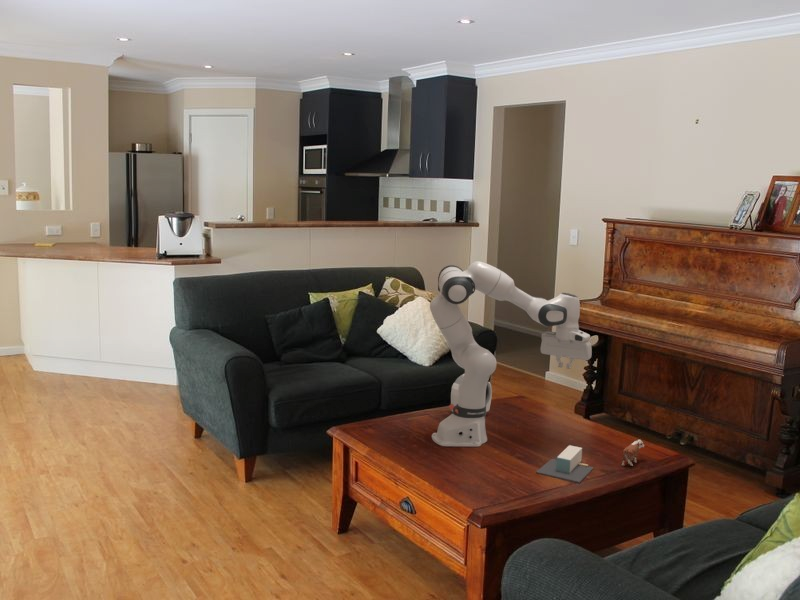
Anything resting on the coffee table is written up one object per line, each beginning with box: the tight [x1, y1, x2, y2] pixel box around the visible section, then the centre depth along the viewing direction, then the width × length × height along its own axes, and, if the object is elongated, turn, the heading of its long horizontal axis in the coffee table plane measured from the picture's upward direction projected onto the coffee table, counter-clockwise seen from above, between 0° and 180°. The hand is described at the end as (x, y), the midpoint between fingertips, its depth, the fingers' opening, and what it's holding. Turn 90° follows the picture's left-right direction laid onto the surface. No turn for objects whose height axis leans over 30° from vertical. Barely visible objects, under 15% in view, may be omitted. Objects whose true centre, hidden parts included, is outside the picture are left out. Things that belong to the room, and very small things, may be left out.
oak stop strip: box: [578, 462, 589, 467], centre depth 289 cm, size 12×2×1 cm, turn 59°
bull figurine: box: [621, 439, 645, 467], centre depth 292 cm, size 4×13×8 cm, turn 137°
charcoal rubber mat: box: [535, 458, 595, 484], centre depth 282 cm, size 16×17×1 cm
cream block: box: [555, 444, 583, 473], centre depth 285 cm, size 5×5×14 cm
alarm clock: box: [450, 373, 493, 413], centre depth 342 cm, size 18×8×20 cm, turn 119°
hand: (564, 367), depth 308 cm, fingers closed
